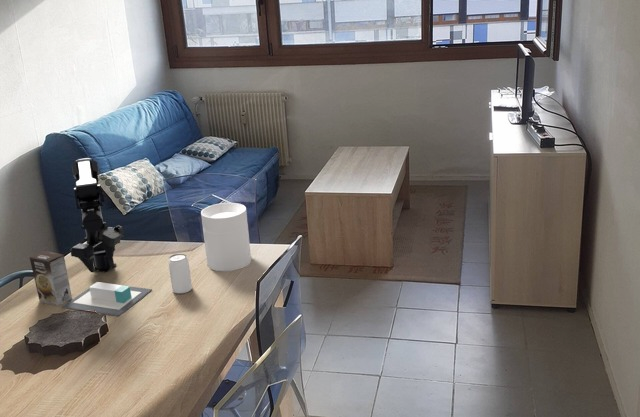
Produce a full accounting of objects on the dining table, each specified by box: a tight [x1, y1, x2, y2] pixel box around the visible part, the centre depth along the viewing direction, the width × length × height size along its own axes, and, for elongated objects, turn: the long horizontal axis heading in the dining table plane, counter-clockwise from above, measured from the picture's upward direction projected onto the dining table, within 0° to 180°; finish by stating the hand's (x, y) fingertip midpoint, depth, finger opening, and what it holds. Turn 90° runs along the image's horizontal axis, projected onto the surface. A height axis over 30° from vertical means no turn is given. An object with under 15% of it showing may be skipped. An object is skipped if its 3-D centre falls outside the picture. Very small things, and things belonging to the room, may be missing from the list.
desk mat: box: [61, 285, 153, 317], centre depth 209 cm, size 22×18×1 cm
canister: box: [200, 202, 252, 272], centre depth 229 cm, size 16×16×20 cm
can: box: [168, 253, 193, 295], centre depth 211 cm, size 6×6×12 cm
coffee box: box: [29, 250, 73, 307], centre depth 208 cm, size 9×6×16 cm
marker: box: [88, 281, 132, 303], centre depth 208 cm, size 13×4×4 cm, turn 69°
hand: (101, 266), depth 205 cm, fingers open, 9 cm apart
